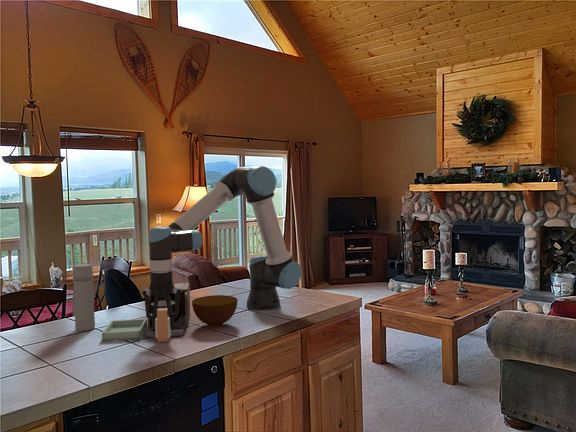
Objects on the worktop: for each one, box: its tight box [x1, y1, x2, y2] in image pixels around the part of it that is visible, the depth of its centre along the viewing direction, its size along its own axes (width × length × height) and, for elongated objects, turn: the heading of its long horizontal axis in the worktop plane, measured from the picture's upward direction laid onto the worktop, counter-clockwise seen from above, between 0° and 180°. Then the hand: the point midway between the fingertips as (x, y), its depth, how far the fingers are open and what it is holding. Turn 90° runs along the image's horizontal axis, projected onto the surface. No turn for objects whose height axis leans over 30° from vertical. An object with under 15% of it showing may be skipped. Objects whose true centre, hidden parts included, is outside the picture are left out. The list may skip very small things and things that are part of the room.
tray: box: [101, 318, 148, 342], centre depth 181 cm, size 13×16×3 cm
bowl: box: [191, 294, 239, 329], centre depth 190 cm, size 18×18×10 cm
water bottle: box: [70, 263, 96, 332], centre depth 187 cm, size 9×8×25 cm
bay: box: [147, 282, 191, 330], centre depth 195 cm, size 15×17×14 cm
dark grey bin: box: [146, 308, 186, 343], centre depth 180 cm, size 13×21×11 cm, turn 8°
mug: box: [151, 301, 181, 330], centre depth 187 cm, size 12×9×10 cm
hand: (163, 336), depth 172 cm, fingers closed on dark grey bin, 3 cm apart
